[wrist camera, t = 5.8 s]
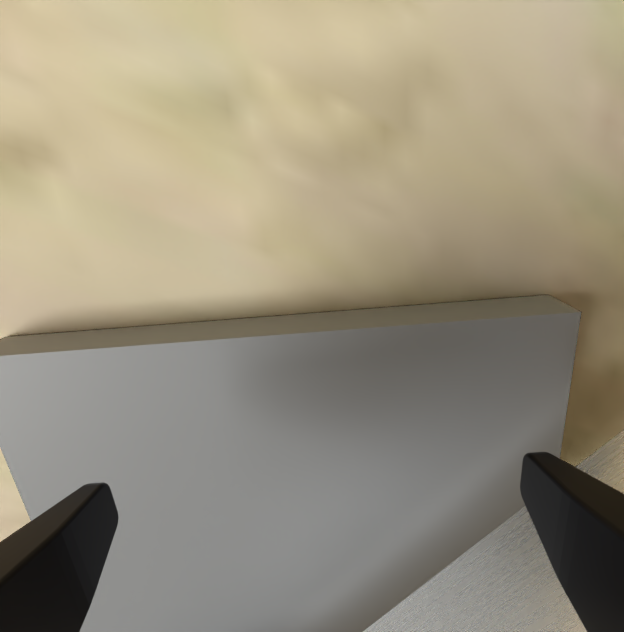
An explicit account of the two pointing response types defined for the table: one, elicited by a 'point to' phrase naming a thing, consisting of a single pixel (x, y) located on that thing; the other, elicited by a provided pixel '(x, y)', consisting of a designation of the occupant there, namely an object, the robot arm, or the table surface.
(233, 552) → the base board
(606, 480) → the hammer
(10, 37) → the table surface
